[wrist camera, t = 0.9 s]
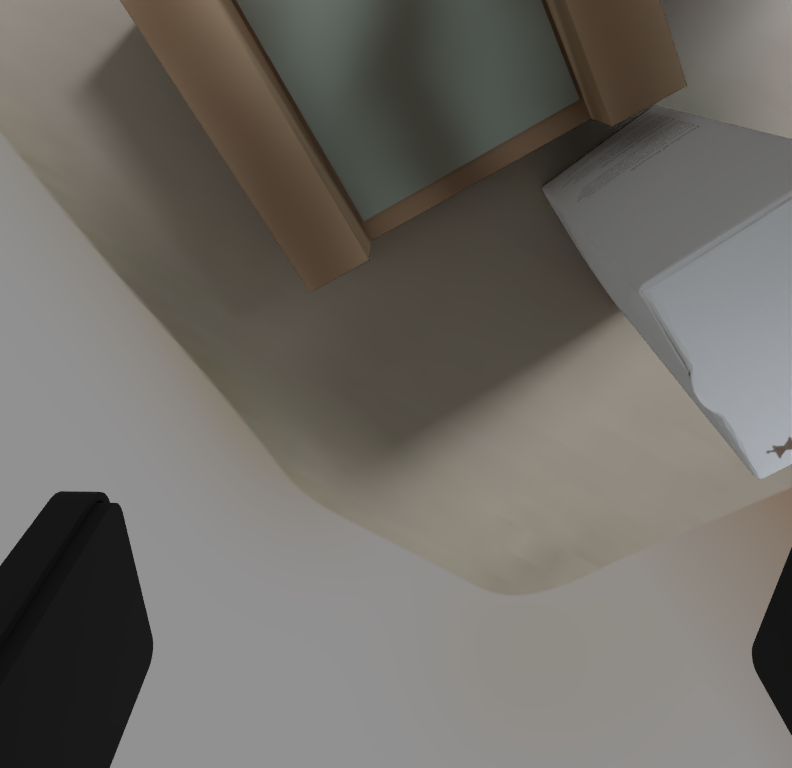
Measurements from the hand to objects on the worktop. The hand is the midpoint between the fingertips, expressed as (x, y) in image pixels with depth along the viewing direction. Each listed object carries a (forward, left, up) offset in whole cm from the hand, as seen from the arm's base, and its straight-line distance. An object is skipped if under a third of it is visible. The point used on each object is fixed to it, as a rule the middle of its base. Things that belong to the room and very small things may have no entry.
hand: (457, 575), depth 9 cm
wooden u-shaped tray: (-3, -6, -25) cm, 26 cm away
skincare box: (-9, +6, -26) cm, 28 cm away
